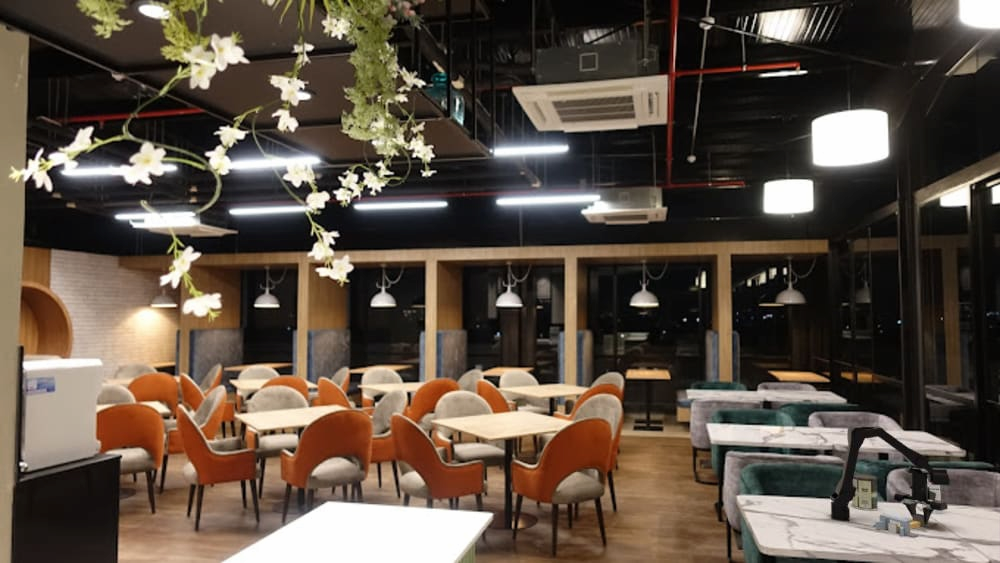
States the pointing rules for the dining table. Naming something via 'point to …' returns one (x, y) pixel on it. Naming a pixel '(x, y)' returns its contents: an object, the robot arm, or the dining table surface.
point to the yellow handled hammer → (917, 522)
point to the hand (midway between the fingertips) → (920, 522)
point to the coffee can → (865, 492)
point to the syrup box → (938, 496)
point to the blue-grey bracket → (903, 522)
